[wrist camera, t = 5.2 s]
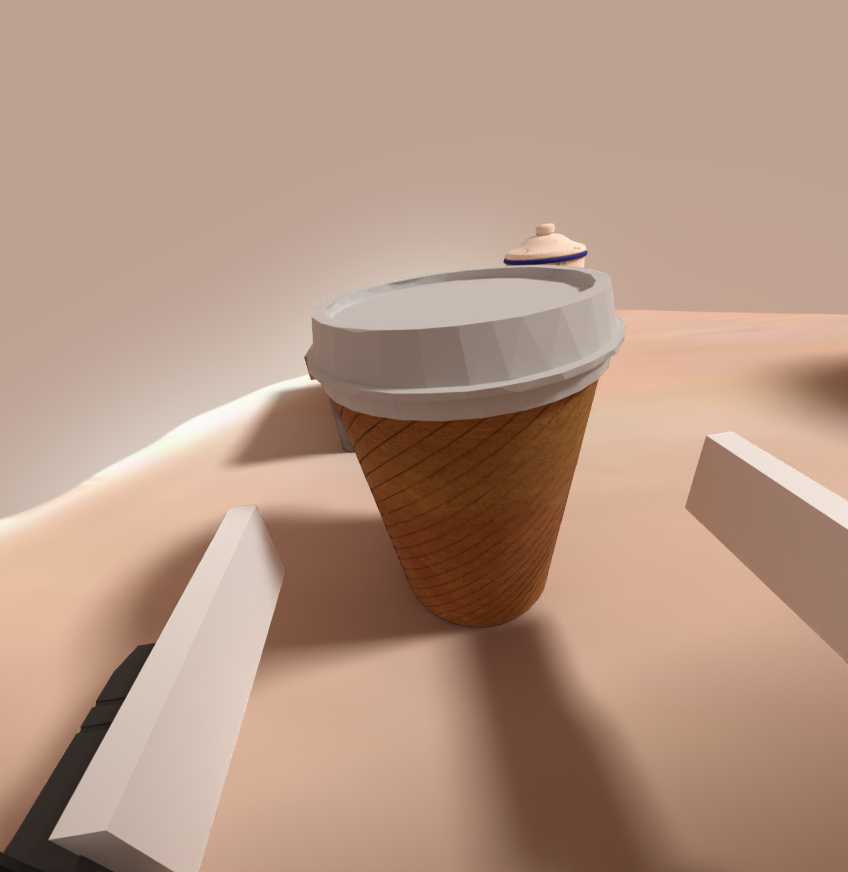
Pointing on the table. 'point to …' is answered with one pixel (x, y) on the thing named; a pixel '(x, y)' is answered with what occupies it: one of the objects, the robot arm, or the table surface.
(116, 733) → the robot arm
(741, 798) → the table surface
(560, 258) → the teacup with lid
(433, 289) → the disposable coffee cup
